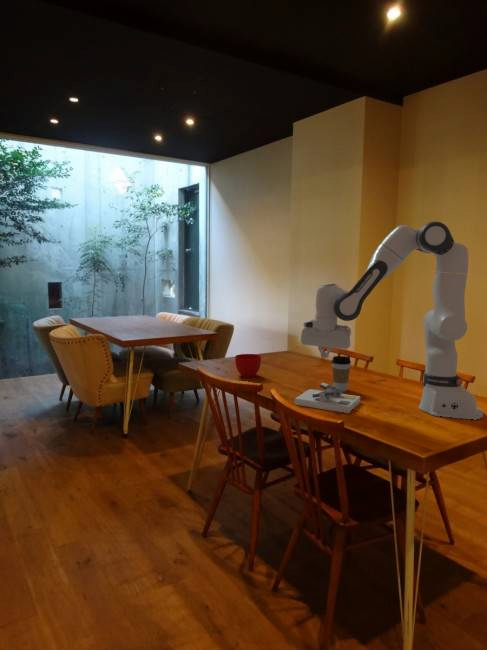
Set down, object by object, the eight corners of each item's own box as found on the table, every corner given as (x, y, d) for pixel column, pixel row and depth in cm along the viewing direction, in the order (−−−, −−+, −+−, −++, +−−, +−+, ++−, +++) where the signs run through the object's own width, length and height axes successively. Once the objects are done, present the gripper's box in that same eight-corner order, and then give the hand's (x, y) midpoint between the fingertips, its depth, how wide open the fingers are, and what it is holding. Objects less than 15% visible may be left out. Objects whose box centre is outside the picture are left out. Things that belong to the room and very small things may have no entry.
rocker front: (337, 392, 181) (336, 389, 181) (334, 395, 177) (333, 391, 177) (316, 395, 185) (315, 392, 185) (312, 397, 182) (312, 394, 182)
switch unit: (360, 402, 187) (360, 388, 186) (348, 413, 173) (349, 398, 172) (309, 394, 198) (309, 381, 197) (294, 404, 184) (295, 390, 183)
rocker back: (342, 393, 188) (343, 390, 188) (339, 395, 185) (340, 392, 184) (322, 385, 192) (323, 382, 192) (319, 387, 189) (320, 384, 188)
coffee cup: (336, 392, 201) (337, 359, 199) (327, 387, 209) (328, 355, 207) (353, 391, 203) (354, 358, 201) (344, 386, 211) (345, 354, 209)
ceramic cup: (262, 371, 240) (262, 352, 239) (260, 379, 224) (260, 359, 222) (237, 370, 242) (237, 352, 240) (233, 378, 225) (233, 358, 224)
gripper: (353, 325, 184) (351, 358, 186) (305, 321, 194) (304, 353, 196) (348, 326, 178) (347, 361, 180) (299, 322, 188) (298, 355, 190)
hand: (324, 357), depth 188 cm, fingers closed
